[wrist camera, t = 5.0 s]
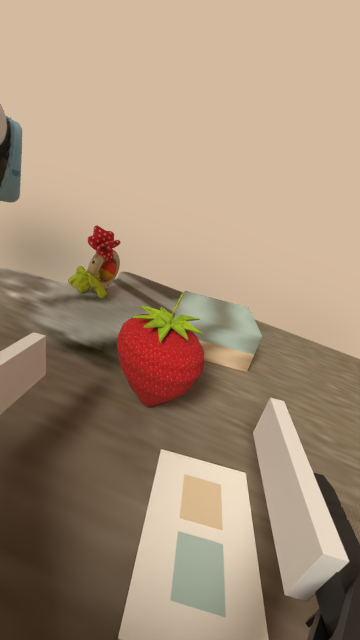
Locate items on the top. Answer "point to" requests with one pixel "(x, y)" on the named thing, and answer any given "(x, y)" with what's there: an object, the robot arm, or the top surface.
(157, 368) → the strawberry
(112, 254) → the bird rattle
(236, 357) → the base brick
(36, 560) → the top surface
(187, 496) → the page
